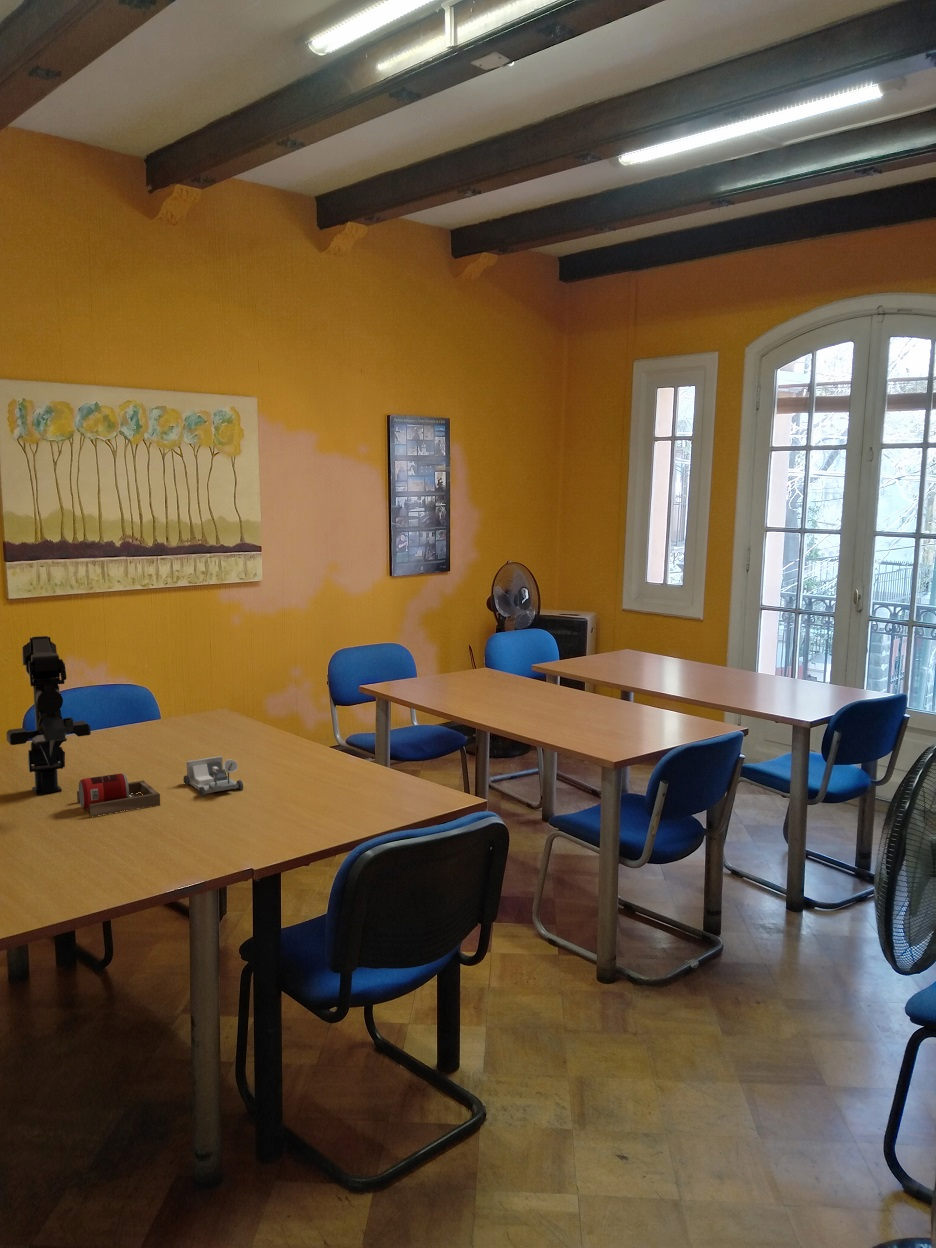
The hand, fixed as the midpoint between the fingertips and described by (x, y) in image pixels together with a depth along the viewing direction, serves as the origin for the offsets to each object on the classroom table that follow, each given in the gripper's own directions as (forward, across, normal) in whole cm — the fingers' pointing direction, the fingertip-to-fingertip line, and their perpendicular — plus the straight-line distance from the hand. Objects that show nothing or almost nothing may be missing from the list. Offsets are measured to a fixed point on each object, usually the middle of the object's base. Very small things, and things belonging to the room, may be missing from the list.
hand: (50, 765), depth 239 cm
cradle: (+13, +16, 0) cm, 20 cm away
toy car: (+14, +42, -1) cm, 44 cm away
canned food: (+9, +7, 0) cm, 11 cm away
